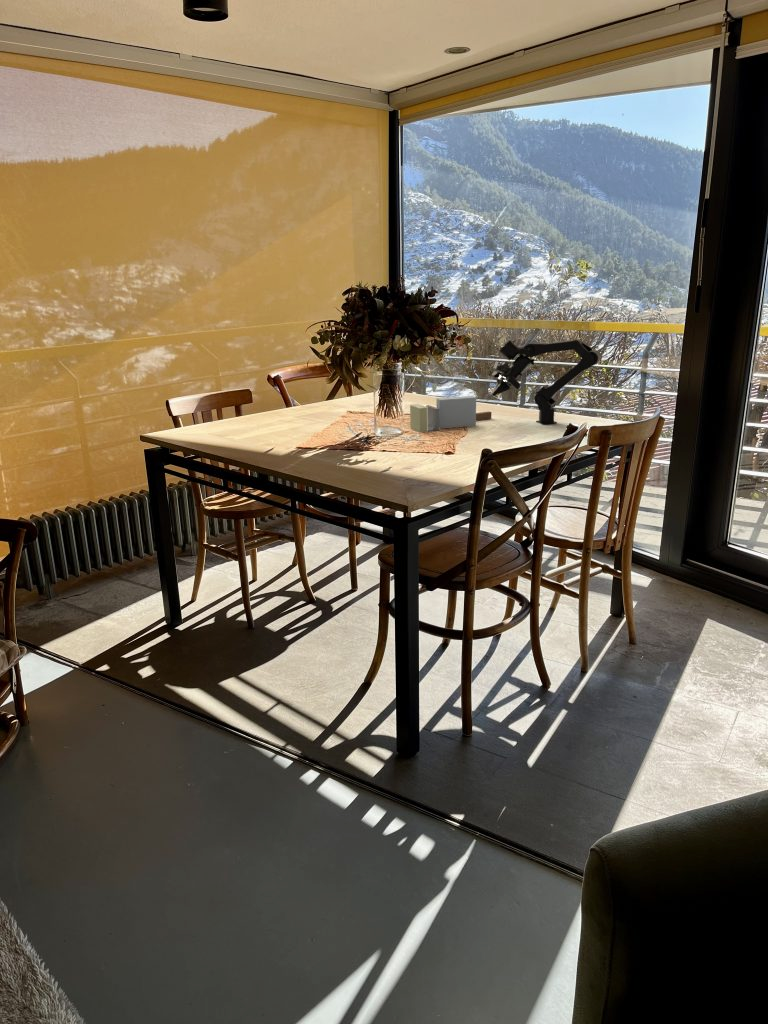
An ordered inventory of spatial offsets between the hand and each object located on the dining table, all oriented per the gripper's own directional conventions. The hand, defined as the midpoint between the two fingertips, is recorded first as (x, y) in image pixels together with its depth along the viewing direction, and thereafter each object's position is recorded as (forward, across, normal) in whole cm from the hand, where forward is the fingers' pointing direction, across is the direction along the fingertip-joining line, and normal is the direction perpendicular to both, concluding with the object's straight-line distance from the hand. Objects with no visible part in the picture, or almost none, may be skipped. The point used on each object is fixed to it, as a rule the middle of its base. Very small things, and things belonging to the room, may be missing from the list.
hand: (492, 395), depth 328 cm
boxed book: (+20, 0, -3) cm, 20 cm away
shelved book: (+32, +2, -15) cm, 35 cm away
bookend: (+29, +2, -12) cm, 32 cm away
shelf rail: (+17, -7, 0) cm, 18 cm away
